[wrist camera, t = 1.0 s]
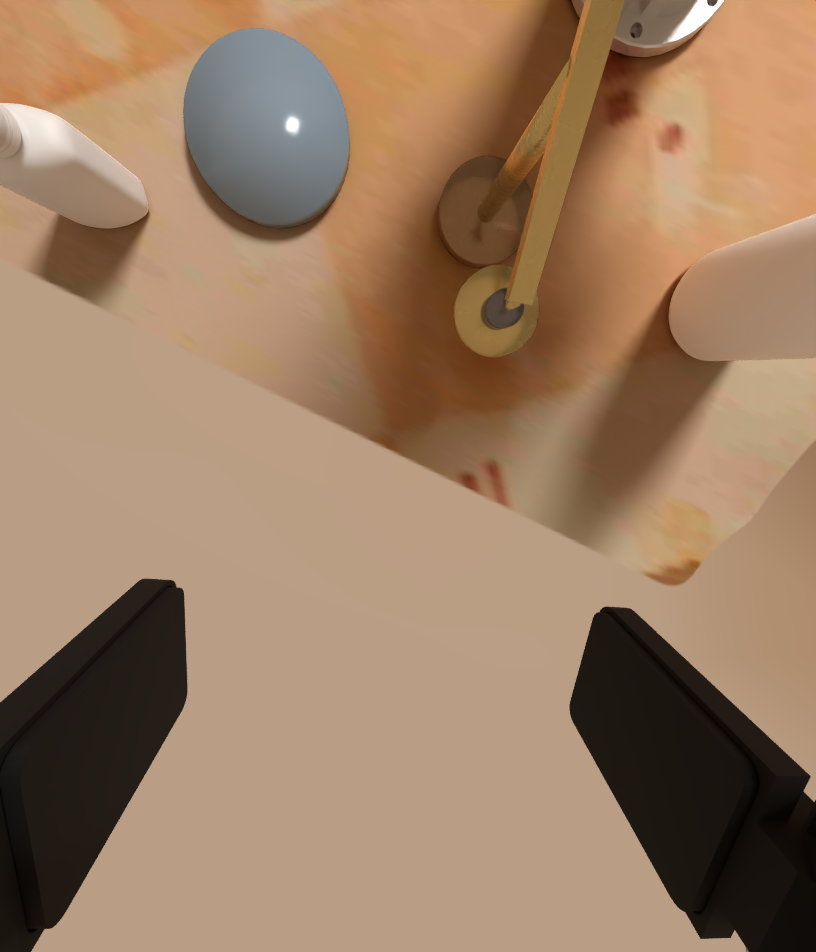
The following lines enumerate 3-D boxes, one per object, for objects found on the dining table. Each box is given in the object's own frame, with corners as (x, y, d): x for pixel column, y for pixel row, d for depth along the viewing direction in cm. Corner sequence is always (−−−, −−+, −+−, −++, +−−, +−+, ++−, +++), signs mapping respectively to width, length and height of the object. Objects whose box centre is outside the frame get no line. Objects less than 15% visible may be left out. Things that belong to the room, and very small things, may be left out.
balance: (465, 34, 27) (624, -583, 9) (560, 59, 28) (868, -468, 10) (415, 353, 32) (460, 333, 15) (496, 367, 33) (628, 363, 16)
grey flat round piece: (192, 24, 26) (184, 7, 24) (358, 65, 27) (357, 52, 26) (190, 211, 28) (182, 204, 27) (341, 241, 29) (339, 235, 28)
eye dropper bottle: (72, 151, 27) (-158, -14, 15) (156, 186, 28) (-2, 55, 16) (63, 218, 28) (-160, 110, 16) (145, 249, 29) (-12, 168, 17)
